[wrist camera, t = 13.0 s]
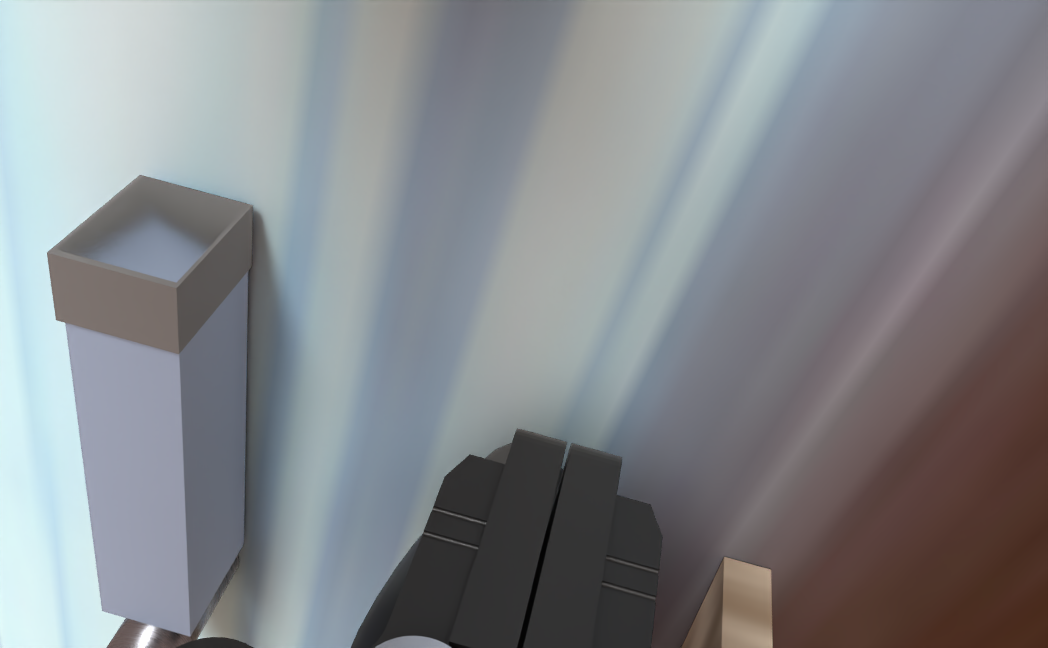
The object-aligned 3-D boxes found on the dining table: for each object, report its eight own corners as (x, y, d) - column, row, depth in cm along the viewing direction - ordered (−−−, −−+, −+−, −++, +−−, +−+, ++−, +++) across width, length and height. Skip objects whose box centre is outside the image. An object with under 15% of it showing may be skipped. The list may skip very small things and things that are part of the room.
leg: (246, 544, 34) (190, 642, 30) (161, 520, 34) (95, 615, 30) (252, 205, 25) (176, 288, 22) (140, 174, 26) (47, 252, 22)
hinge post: (176, 522, 34) (96, 641, 30) (239, 540, 34) (167, 663, 30) (178, 565, 36) (102, 684, 31) (239, 582, 36) (170, 704, 31)
